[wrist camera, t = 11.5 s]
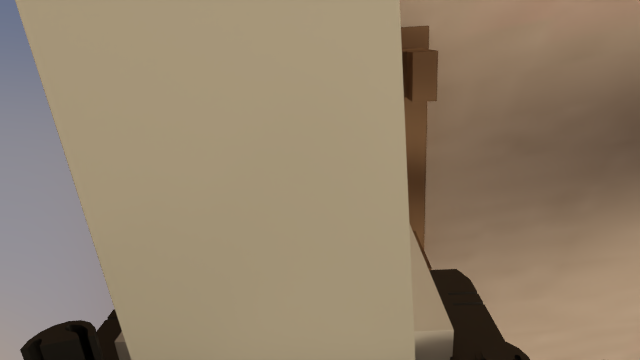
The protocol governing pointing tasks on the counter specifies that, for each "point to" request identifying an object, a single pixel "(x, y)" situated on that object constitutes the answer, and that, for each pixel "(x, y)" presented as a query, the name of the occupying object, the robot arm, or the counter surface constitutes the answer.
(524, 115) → the counter surface
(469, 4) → the counter surface
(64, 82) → the clay bar
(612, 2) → the counter surface
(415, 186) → the brown wooden frame
